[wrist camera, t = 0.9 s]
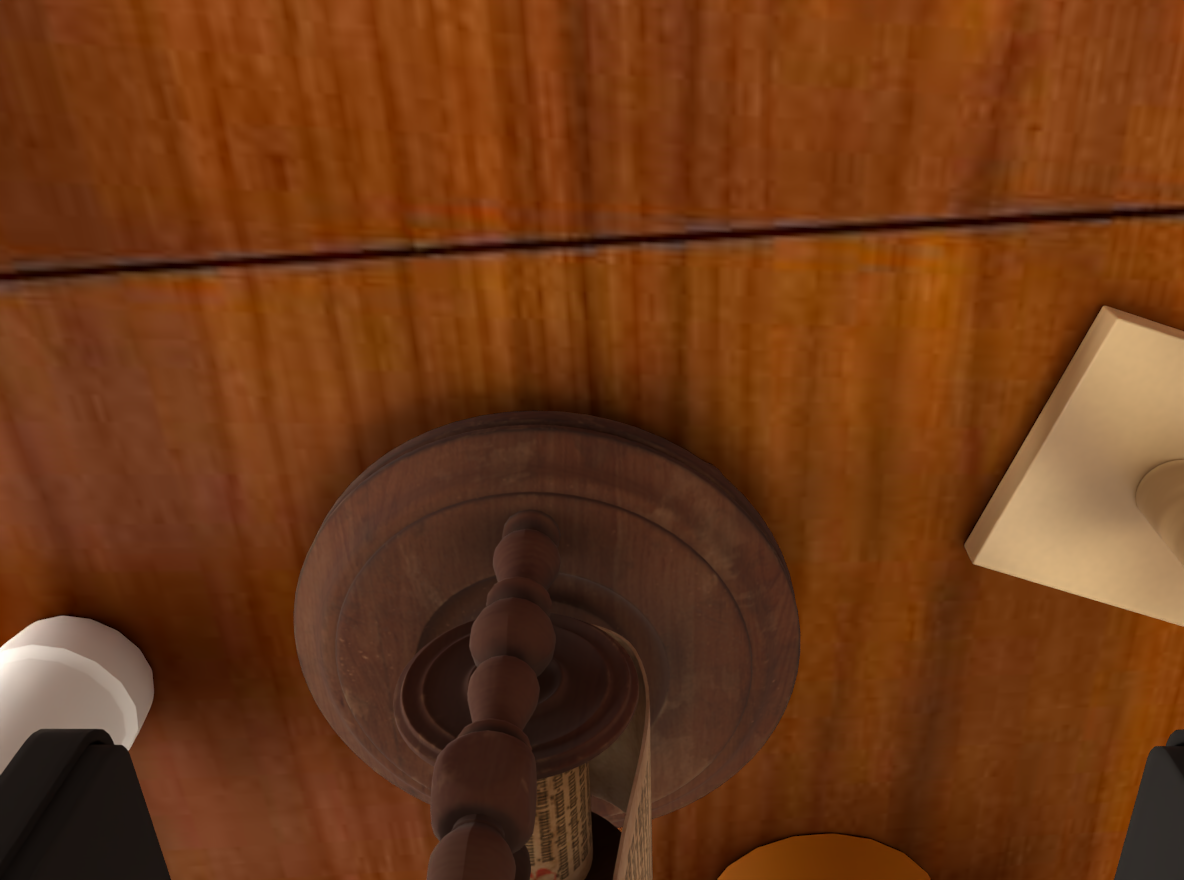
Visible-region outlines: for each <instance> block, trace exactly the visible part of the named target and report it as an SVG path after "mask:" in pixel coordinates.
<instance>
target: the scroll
mask: <svg viewBox="0 0 1184 880" xmlns="http://www.w3.org/2000/svg"><path fill="white" fill-rule="evenodd" d="M294 635H295V642H296V648H297V654H298V658H299V661H300V665H301V669H302V672H303V675H304V677H305V680H306V682H307V685H308V687H309V690H310V692H311V694H312V696H313V698H314V700H315V702H316V703H317V705H318V707H319V709H320V711H321V712H322V714H323V715H324V717H325V718H326V720H327V721H328V723H329V724H330V726H331V727H332V728H333V729H334V731H335V732H336V733H337V734H338V735H339V737H340V738H341V739H342V740H343V742H344V743H345V744H346V745H347V746H348V747H349V748H350V749H351V750H352V751H353V752H354V753H355V754H356V755H357V756H358V757H359V758H360V759H361V760H363V761H364V762H365V763H366V764H367V765H368V766H370V767H371V768H372V769H373V770H374V771H376V772H377V773H378V774H380V775H381V776H382V777H384V778H385V779H387V780H388V781H389V782H391V783H392V784H394V785H395V786H397V787H399V788H400V789H402V790H404V791H405V792H407V793H409V794H410V795H412V796H414V797H416V798H418V799H420V800H422V801H424V802H426V803H428V804H430V805H431V824H432V828H433V832H434V834H435V836H436V837H437V838H438V840H439V841H440V842H439V843H438V844H437V846H436V847H435V848H434V850H433V852H432V854H431V856H430V860H429V864H428V872H427V880H653V879H652V819H654V818H657V817H660V816H663V815H666V814H668V813H670V812H673V811H675V810H677V809H680V808H682V807H685V806H686V805H688V804H690V803H692V802H694V801H696V800H698V799H700V798H702V797H703V796H705V795H707V794H708V793H710V792H711V791H713V790H714V789H716V788H718V787H719V786H721V785H722V784H723V783H725V782H726V781H727V780H728V779H730V778H731V777H732V776H734V775H735V774H736V773H737V772H738V771H739V770H740V769H742V768H743V767H744V766H745V765H746V764H747V763H748V762H749V761H750V760H751V759H752V758H753V757H754V756H755V754H756V753H757V752H758V751H759V750H760V749H761V747H762V746H763V745H764V744H765V743H766V741H767V740H768V738H769V737H770V735H771V734H772V732H773V731H774V730H775V728H776V726H777V724H778V723H779V721H780V719H781V717H782V715H783V713H784V711H785V709H786V707H787V704H788V702H789V699H790V697H791V694H792V691H793V688H794V684H795V680H796V676H797V672H798V665H799V657H800V626H799V618H798V611H797V606H796V602H795V595H794V590H793V586H792V582H791V578H790V574H789V571H788V568H787V565H786V563H785V560H784V557H783V555H782V552H781V550H780V548H779V546H778V544H777V542H776V540H775V538H774V536H773V534H772V532H771V531H770V529H769V528H768V526H767V525H766V523H765V522H764V520H763V519H762V517H761V516H760V514H759V513H758V512H757V511H756V509H755V508H754V507H753V506H752V505H751V503H750V502H749V501H748V500H747V499H746V497H745V496H744V495H743V494H742V493H741V492H740V491H739V490H738V489H737V488H736V487H735V486H734V485H732V484H731V483H730V482H729V481H728V480H727V479H726V478H725V477H724V476H723V475H722V473H721V472H720V470H719V469H718V468H716V467H715V466H713V465H712V464H710V463H706V462H704V461H703V460H701V459H699V458H698V457H696V456H695V455H693V454H692V453H690V452H689V451H687V450H685V449H683V448H681V447H680V446H678V445H676V444H674V443H672V442H670V441H668V440H666V439H664V438H662V437H659V436H657V435H655V434H652V433H650V432H647V431H645V430H642V429H640V428H637V427H634V426H630V425H627V424H624V423H621V422H617V421H614V420H610V419H605V418H600V417H596V416H591V415H586V414H577V413H569V412H561V411H534V410H533V411H515V412H503V413H496V414H489V415H482V416H477V417H473V418H469V419H465V420H461V421H457V422H453V423H450V424H448V425H445V426H442V427H439V428H436V429H433V430H430V431H428V432H426V433H424V434H422V435H419V436H417V437H415V438H413V439H411V440H409V441H407V442H405V443H403V444H402V445H400V446H398V447H397V448H395V449H393V450H392V451H390V452H388V453H387V454H385V455H384V456H383V457H381V458H380V459H379V460H377V461H376V462H375V463H373V464H372V465H370V466H369V467H368V468H367V469H366V470H365V471H364V472H363V473H362V474H360V475H359V476H358V477H357V478H356V479H355V480H354V481H353V482H352V483H351V484H350V485H349V486H348V488H347V489H346V490H345V491H344V492H343V493H342V495H341V496H340V497H339V498H338V499H337V501H336V502H335V504H334V505H333V507H332V508H331V510H330V511H329V513H328V514H327V516H326V517H325V519H324V521H323V523H322V525H321V527H320V529H319V531H318V533H317V535H316V537H315V539H314V541H313V543H312V545H311V547H310V549H309V551H308V553H307V556H306V558H305V561H304V564H303V567H302V569H301V572H300V576H299V580H298V585H297V589H296V595H295V605H294ZM619 827H623V829H622V833H621V832H620V831H619V830H618V829H617V828H619Z"/></svg>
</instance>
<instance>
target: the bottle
mask: <svg viewBox="0 0 1184 880" xmlns="http://www.w3.org/2000/svg"><path fill="white" fill-rule="evenodd" d="M153 697H154V684H153V674H152V669H151V667H150V666H149V664H148V662H147V661H146V659H145V657H144V656H143V654H142V652H141V651H140V649H139V648H138V647H137V646H135V645H134V644H133V643H132V642H131V641H129V640H128V639H127V638H126V637H125V636H124V635H122V634H121V633H120V632H119V631H117V630H115V629H113V628H110V627H108V626H106V625H103V624H101V623H99V622H97V621H94V620H92V619H87V618H79V617H71V616H63V615H62V616H57V617H53V618H48V619H43V620H39V621H36V622H34V623H32V624H31V625H29V626H28V627H26V628H25V629H24V630H22V631H21V632H20V633H18V634H17V635H16V636H15V637H13V638H12V639H11V640H9V641H8V642H7V643H6V644H4V645H3V646H2V647H1V648H0V775H1V774H2V772H3V771H4V769H5V768H6V767H7V765H8V764H9V763H10V761H11V760H12V758H13V757H14V756H15V754H16V753H17V752H18V750H19V749H20V747H21V746H22V745H23V743H24V742H25V741H26V740H27V739H28V738H29V736H30V735H31V734H32V733H34V732H36V731H38V730H40V729H104V730H105V731H106V732H107V733H109V734H110V736H111V738H112V740H113V742H114V745H123V746H124V747H125V748H127V750H129V749H130V748H131V746H132V744H133V742H134V741H135V739H136V737H137V735H138V733H139V731H140V729H141V727H142V725H143V723H144V721H145V719H146V716H147V714H148V712H149V710H150V708H151V705H152V702H153Z"/></svg>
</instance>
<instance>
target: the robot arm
mask: <svg viewBox="0 0 1184 880" xmlns="http://www.w3.org/2000/svg"><path fill="white" fill-rule="evenodd" d="M0 880H171V878H170V875H169V872H168V869H167V866H166V863H165V860H164V857H163V854H162V851H161V848H160V845H159V842H158V839H157V836H156V833H155V830H154V827H153V824H152V821H151V818H150V814H149V811H148V808H147V805H146V802H145V799H144V796H143V793H142V790H141V787H140V784H139V781H138V778H137V775H136V772H135V769H134V766H133V763H132V760H131V757H130V754H129V752H128V750H127V748H125V747H124V746H123V745H114V742H113V740H112V738H111V736H110V734H109V733H107V732H106V731H105V730H104V729H40V730H38V731H36V732H34V733H32V734H31V735H30V736H29V738H28V739H27V740H26V741H25V742H24V743H23V745H22V746H21V747H20V749H19V750H18V752H17V753H16V754H15V756H14V757H13V758H12V760H11V761H10V763H9V764H8V765H7V767H6V768H5V769H4V771H3V772H2V774H1V775H0ZM1114 880H1184V729H1183V730H1176V731H1174V732H1173V733H1172V734H1171V735H1170V737H1169V739H1168V741H1167V744H1166V746H1155V747H1154V748H1153V749H1152V750H1151V751H1150V753H1149V756H1148V758H1147V762H1146V765H1145V769H1144V773H1143V776H1142V780H1141V784H1140V787H1139V791H1138V795H1137V798H1136V802H1135V805H1134V809H1133V813H1132V816H1131V820H1130V824H1129V827H1128V831H1127V835H1126V838H1125V842H1124V846H1123V849H1122V853H1121V856H1120V860H1119V864H1118V867H1117V871H1116V875H1115V878H1114Z"/></svg>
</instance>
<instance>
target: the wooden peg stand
mask: <svg viewBox="0 0 1184 880" xmlns="http://www.w3.org/2000/svg"><path fill="white" fill-rule="evenodd" d="M964 547H965V549H966V551H967V553H968V555H969V557H970V559H971V561H972V563H973V564H975V565H978V566H981V567H985V568H988V569H992V570H995V571H998V572H1002V573H1005V574H1008V575H1012V576H1015V577H1018V578H1022V579H1025V580H1029V581H1032V582H1035V583H1039V584H1042V585H1045V586H1049V587H1052V588H1056V589H1059V590H1062V591H1066V592H1069V593H1072V594H1076V595H1079V596H1082V597H1086V598H1089V599H1093V600H1096V601H1099V602H1103V603H1106V604H1109V605H1113V606H1116V607H1120V608H1123V609H1126V610H1130V611H1133V612H1136V613H1140V614H1143V615H1146V616H1150V617H1153V618H1157V619H1160V620H1163V621H1167V622H1170V623H1173V624H1177V625H1180V626H1184V331H1182V330H1178V329H1175V328H1172V327H1169V326H1166V325H1163V324H1160V323H1157V322H1154V321H1151V320H1148V319H1145V318H1142V317H1139V316H1136V315H1133V314H1130V313H1127V312H1124V311H1121V310H1118V309H1115V308H1111V307H1108V306H1103V307H1102V308H1101V310H1100V312H1099V314H1098V315H1097V317H1096V319H1095V321H1094V322H1093V324H1092V326H1091V327H1090V329H1089V331H1088V333H1087V334H1086V336H1085V338H1084V339H1083V341H1082V343H1081V345H1080V346H1079V348H1078V350H1077V351H1076V353H1075V355H1074V357H1073V358H1072V360H1071V362H1070V364H1069V365H1068V367H1067V369H1066V370H1065V372H1064V374H1063V376H1062V377H1061V379H1060V381H1059V382H1058V384H1057V386H1056V388H1055V389H1054V391H1053V393H1052V395H1051V396H1050V398H1049V400H1048V401H1047V403H1046V405H1045V407H1044V408H1043V410H1042V412H1041V413H1040V415H1039V417H1038V419H1037V420H1036V422H1035V424H1034V426H1033V427H1032V429H1031V431H1030V432H1029V434H1028V436H1027V438H1026V439H1025V441H1024V443H1023V444H1022V446H1021V448H1020V450H1019V451H1018V453H1017V455H1016V456H1015V458H1014V460H1013V462H1012V463H1011V465H1010V467H1009V469H1008V470H1007V472H1006V474H1005V475H1004V477H1003V479H1002V481H1001V482H1000V484H999V486H998V487H997V489H996V491H995V493H994V494H993V496H992V498H991V500H990V501H989V503H988V505H987V506H986V508H985V510H984V512H983V513H982V515H981V517H980V518H979V520H978V522H977V524H976V525H975V527H974V529H973V531H972V532H971V534H970V536H969V537H968V539H967V541H966V543H965V544H964Z"/></svg>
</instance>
